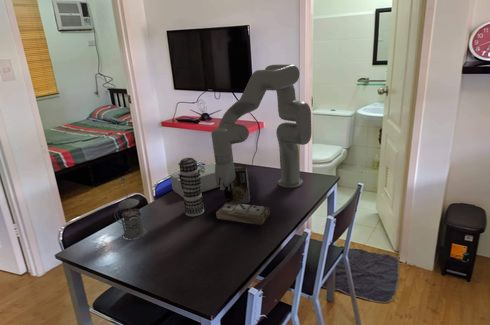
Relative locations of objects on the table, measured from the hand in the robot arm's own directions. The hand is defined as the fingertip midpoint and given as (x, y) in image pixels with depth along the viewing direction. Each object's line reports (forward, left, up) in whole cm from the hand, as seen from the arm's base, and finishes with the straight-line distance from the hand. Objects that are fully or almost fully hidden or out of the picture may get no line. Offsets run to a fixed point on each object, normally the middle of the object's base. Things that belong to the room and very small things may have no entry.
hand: (229, 198), depth 150 cm
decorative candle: (+3, -17, -8) cm, 19 cm away
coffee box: (-13, -2, -8) cm, 16 cm away
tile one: (+1, 0, -7) cm, 7 cm away
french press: (+27, -32, -8) cm, 42 cm away
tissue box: (-24, -30, -8) cm, 39 cm away
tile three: (+1, +6, -6) cm, 9 cm away
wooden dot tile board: (+1, +6, -8) cm, 10 cm away
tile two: (+1, +13, -6) cm, 14 cm away
